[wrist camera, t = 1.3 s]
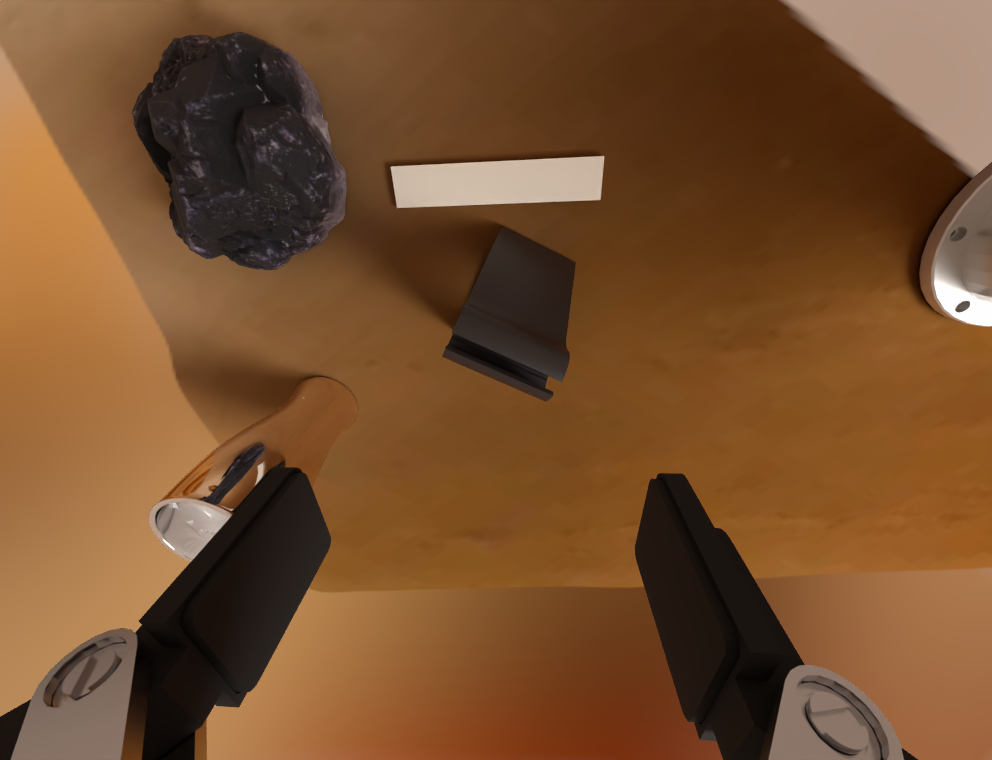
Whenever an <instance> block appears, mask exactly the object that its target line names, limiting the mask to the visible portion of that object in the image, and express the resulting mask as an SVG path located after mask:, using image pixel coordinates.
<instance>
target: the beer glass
mask: <svg viewBox="0 0 992 760" xmlns="http://www.w3.org/2000/svg"><path fill="white" fill-rule="evenodd" d="M357 416H358V405H357V402H356V399H355V397H354V396H353V394H352V393H351V392H350V391H349V390H348V389H347V388H346V387H345V386H344V385H342V384H341V383H339V382H337V381H335V380H333V379H330V378H326V377H312V378H309V379H306V380H305V381H303V382H302V383H301V384H300V385H299V386H298V387H297V388H296V390H295V391H294V393H293V394H292V396H291V397H290V399H289V400H288V401H287V402H286V403H285V404H284V405H283V406H282V407H280V408H279V409H278V410H276V411H275V412H273V413H271V414H270V415H268V416H266V417H264V418H263V419H261V420H259V421H257V422H256V423H254V424H252V425H250V426H249V427H247V428H245V429H243V430H242V431H240V432H239V433H237V434H236V435H234V436H233V437H231V438H229V439H228V440H226V441H225V442H224V443H222V444H221V445H220V446H218V447H217V448H216V449H215V450H213V451H212V452H211V453H210V454H208V455H207V456H206V457H205V458H204V459H203V460H202V461H200V462H199V463H198V464H197V465H196V466H195V467H194V468H193V469H192V470H191V471H190V472H189V473H187V475H186V476H184V477H183V478H182V479H181V480H180V481H179V482H178V483H177V484H176V485H175V486H174V487H173V488H172V489H171V490H170V491H169V492H168V493H167V495H165V496H164V497H163V498H162V499H161V500H160V501H159V502H158V503H157V504H155V505H154V506H153V507H152V509H151V510H150V513H149V524H150V526H151V529H152V531H153V533H154V534H155V536H156V537H157V538H158V539H159V541H160V542H162V544H163V545H164V546H165V547H167V548H168V549H169V550H170V551H172V552H173V553H175V554H176V555H178V556H179V557H181V558H183V559H185V560H187V561H189V562H191V561H192V560H193V559H194V558H195V557H196V556H197V554H198V553H199V552H200V551H201V550H202V549H203V548H204V546H205V545H206V544H207V543H208V542H209V541H210V540H211V539H212V537H213V536H214V535H215V534H216V533H217V532H218V531H219V530H220V528H221V527H222V526H223V525H224V524H225V523H226V522H227V520H228V519H229V518H230V517H231V516H232V515H233V514H234V513H235V511H236V510H237V509H238V508H239V507H240V506H241V505H242V503H243V502H244V501H245V500H246V499H247V498H248V497H249V496H250V494H251V493H252V492H253V491H254V490H255V489H256V488H257V486H258V485H259V484H260V483H261V482H262V481H263V480H264V479H265V477H266V476H267V475H268V474H269V473H270V472H271V471H272V470H273V469H274V468H277V467H296V468H300V469H301V470H302V472H303V473H305V474H306V475H307V476H308V479H309V482H310V484H311V487H313V485H314V483H315V481H316V479H317V477H318V475H319V472H320V470H321V468H322V466H323V464H324V461H325V459H326V457H327V455H328V452H329V450H330V448H331V447H332V445H333V443H334V442H335V441H336V439H337V438H338V437H339V436H340V435H341V434H343V433H344V432H345V431H346V430H347V429H349V428H350V427H351V426H352V425H353V424H354V422H355V421H356V419H357Z"/></svg>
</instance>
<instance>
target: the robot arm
mask: <svg viewBox="0 0 992 760" xmlns="http://www.w3.org/2000/svg"><path fill="white" fill-rule="evenodd" d="M919 275H920V285H921V290H922V292H923V294H924V297H925V299H926V301H927V302H928V303H929V304H930V305H931V306H932V308H933V309H934V310H935V311H937V312H939V313H940V314H942V315H944V316H945V317H947V318H950V319H953V320H956V321H959V322H962V323H965V324H970V325H976V326H982V327H989V326H992V162H991V163H990V164H989V165H988V166H987V167H985V169H983V170H982V171H981V172H980V173H978V174H977V175H976V176H975V177H974V178H973V179H972V180H971V181H970V182H969V183H968V184H967V185H966V186H965V187H964V188H963V189H962V190H961V191H960V192H959V193H958V195H957V196H956V197H955V198H954V199H953V200H952V202H951V203H950V204H949V206H948V207H947V208H946V210H945V211H944V212H943V214H942V215H941V216H940V218H939V220H938V221H937V223H936V225H935V227H934V229H933V230H932V232H931V234H930V236H929V238H928V240H927V243H926V246H925V249H924V251H923V254H922V258H921V265H920V272H919ZM330 544H331V537H330V534H329V531H328V528H327V526H326V523H325V521H324V518H323V515H322V513H321V510H320V508H319V505H318V502H317V500H316V497H315V495H314V492H313V489H312V487H311V484H310V482H309V479H308V476H307V475H306V474H305V473H303V472H302V470H301V469H300V468H296V467H277V468H274V469H273V470H272V471H271V472H270V473H269V474H268V475H267V476H266V477H265V479H264V480H263V481H262V482H261V483H260V484H259V485H258V486H257V488H256V489H255V490H254V491H253V492H252V493H251V494H250V496H249V497H248V498H247V499H246V500H245V501H244V502H243V503H242V505H241V506H240V507H239V508H238V509H237V510H236V511H235V513H234V514H233V515H232V516H231V517H230V518H229V519H228V520H227V522H226V523H225V524H224V525H223V526H222V527H221V528H220V530H219V531H218V532H217V533H216V534H215V535H214V536H213V537H212V539H211V540H210V541H209V542H208V543H207V544H206V545H205V546H204V548H203V549H202V550H201V551H200V552H199V553H198V554H197V556H196V557H195V558H194V559H193V560H192V561H191V562H190V564H189V565H188V566H187V567H186V568H185V569H184V570H183V571H182V573H181V574H180V575H179V576H178V577H177V578H176V579H175V580H174V582H173V583H172V584H171V585H170V586H169V587H168V588H167V589H166V591H165V592H164V593H163V594H162V595H161V596H160V597H159V599H158V600H157V601H156V602H155V603H154V604H153V605H152V606H151V608H150V609H149V610H148V611H147V612H146V613H145V614H144V616H143V617H142V618H141V619H140V620H139V622H140V623H141V624H142V626H141V627H140V628H139V629H138V630H137V631H136V633H134V632H133V631H132V630H131V629H125V628H120V629H114V630H109V631H107V632H104V633H102V634H99V635H97V636H95V637H93V638H91V639H90V640H88V641H86V642H84V643H82V644H81V645H79V646H78V647H77V648H75V649H74V650H73V651H71V652H70V653H69V654H67V655H66V656H65V657H64V658H62V659H61V660H60V661H59V662H58V663H57V664H56V665H55V666H54V667H53V668H52V669H51V670H50V671H49V672H48V674H47V675H46V676H45V677H44V679H43V680H42V681H41V682H40V684H39V685H38V687H37V689H36V691H35V693H34V695H33V697H32V699H31V700H29V701H27V702H26V703H24V704H22V705H20V706H18V707H17V708H15V709H13V710H11V711H10V712H8V713H6V714H4V715H3V716H1V717H0V760H207V744H206V743H207V741H206V740H207V739H206V718H207V717H208V715H209V713H210V712H211V710H212V708H213V707H214V705H216V706H226V707H239V706H240V705H241V703H242V701H243V699H244V697H245V695H246V694H247V692H250V691H251V690H252V689H253V688H254V687H255V686H256V685H257V683H258V681H259V679H260V677H261V676H262V674H263V672H264V670H265V668H266V666H267V665H268V663H269V661H270V659H271V657H272V655H273V653H274V651H275V650H276V648H277V646H278V644H279V642H280V640H281V638H282V636H283V635H284V633H285V631H286V629H287V627H288V625H289V623H290V621H291V620H292V618H293V616H294V614H295V612H296V610H297V608H298V606H299V604H300V603H301V601H302V599H303V597H304V595H305V593H306V591H307V590H308V588H309V586H310V584H311V582H312V580H313V578H314V576H315V575H316V573H317V571H318V569H319V567H320V565H321V563H322V561H323V560H324V558H325V556H326V554H327V552H328V550H329V548H330ZM635 555H636V560H637V564H638V567H639V570H640V574H641V577H642V580H643V584H644V587H645V590H646V593H647V597H648V600H649V603H650V606H651V609H652V613H653V616H654V619H655V623H656V626H657V629H658V632H659V636H660V639H661V642H662V646H663V649H664V652H665V655H666V659H667V662H668V665H669V669H670V672H671V675H672V678H673V681H674V685H675V688H676V691H677V695H678V698H679V701H680V705H681V708H682V711H683V713H684V715H685V718H686V719H687V721H689V722H694V724H695V726H696V730H697V733H698V736H699V739H700V740H712V741H717V743H718V746H719V749H720V751H721V754H722V757H723V760H918V759H916V758H915V757H914V756H912V755H911V754H909V753H908V752H907V751H905V750H904V749H902V748H901V744H900V742H899V739H898V737H897V735H896V734H895V731H894V729H893V727H892V726H891V724H890V723H889V721H888V720H887V719H886V717H885V716H884V715H883V713H882V712H881V711H880V709H879V708H878V707H877V706H876V705H875V704H874V703H873V702H872V701H871V700H870V699H869V698H868V697H867V696H866V695H865V694H864V693H863V692H862V691H861V690H860V689H859V688H857V687H856V686H854V685H853V684H852V683H850V682H849V681H847V680H846V679H845V678H843V677H841V676H839V675H838V674H835V673H834V672H831V671H830V670H827V669H825V668H821V667H817V666H814V665H804V663H803V661H802V660H801V658H800V656H799V654H798V653H797V651H796V650H795V648H794V646H793V644H792V643H791V641H790V639H789V638H788V636H787V634H786V633H785V631H784V629H783V627H782V626H781V624H780V622H779V621H778V619H777V617H776V616H775V614H774V612H773V611H772V609H771V607H770V605H769V604H768V602H767V600H766V599H765V597H764V595H763V594H762V592H761V590H760V588H759V587H758V585H757V583H756V582H755V580H754V578H753V577H752V575H751V573H750V572H749V570H748V568H747V566H746V565H745V563H744V561H743V560H742V558H741V556H740V555H739V553H738V551H737V550H736V548H735V546H734V544H733V543H732V541H731V539H730V538H729V537H728V535H727V534H726V532H724V531H723V530H722V529H719V528H714V526H713V524H712V523H711V521H710V519H709V517H708V515H707V514H706V512H705V510H704V508H703V507H702V505H701V503H700V501H699V499H698V498H697V496H696V494H695V492H694V491H693V489H692V487H691V485H690V484H689V482H688V480H687V478H686V477H685V476H684V475H683V474H666V473H660V474H658V475H657V477H656V479H651V480H650V482H649V486H648V491H647V495H646V500H645V504H644V509H643V513H642V518H641V522H640V527H639V531H638V536H637V540H636V545H635Z"/></svg>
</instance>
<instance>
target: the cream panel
mask: <svg viewBox="0 0 992 760" xmlns="http://www.w3.org/2000/svg"><path fill="white" fill-rule="evenodd" d="M603 166H604V156H593V157H573V158H553V159H533V160H513V161H493V162H473V163H453V164H432V165H412V166H392V167H391V172H392V179H393V185H394V192H395V198H396V205H397V208H409V207H434V206H459V205H485V204H510V203H535V202H561V201H586V200H600V199H601V188H602V177H603Z"/></svg>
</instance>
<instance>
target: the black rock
mask: <svg viewBox="0 0 992 760" xmlns="http://www.w3.org/2000/svg"><path fill="white" fill-rule="evenodd" d="M132 114H133V117H134V125H135V128H136V131H137V133H138V136H139V137H140V139H141V141H142V142H143V144H144V146H145V147H146V150H147V151H148V153H149V155H150V156H151V158H152V161H153V163H154V164H155V166H156V167H157V169H158V170H159V172H160V173H161V174H162V175H163V176H164V178H165V181H166V182H167V183H168V184H169V185H168V186H169V188H170V192H169V194H170V197H171V199H172V201H171V204H170V210H169V214H170V219H172V222H173V227H174V229H175V232H176V234H177V235H178V236H179V237H180V238H182V239H183V241H184V243H185V244H186V245H188V247H189V249H190V250H191V251H193V252H195V253H197V254H199V255H200V256H202V257H204V258H206V259H212V258H215V257H218V256H220V255H225V256H227V257H229V259H230V260H231V261H234V262H236V263H237V264H238V265H241V266H245V267H249V268H254V269H264V270H274V269H278V268H280V267H282V266H284V265H285V264H286V263H287V262H288V261H289V260H290V258H291V256H292V255H294V254H297V253H302V252H306V251H308V250H310V249H312V248H314V247H315V246H316V245H319V244H321V243H323V242H324V241H325V240H326V238H327V236H328V232H329V230H330V229H332V228H333V227H334V226H336V225H337V224H339V223H340V222H341V221H342V220H343V219H344V216H345V201H346V193H347V184H346V173H345V169H344V168H343V166H342V165H341V164H340V163H339V162H338V160H337V158H336V156H335V154H334V151H333V149H332V147H331V139H330V135H329V132H328V127H327V125H328V122H327V121H326V120H325V119H323V113H322V106H321V101H320V98H319V95H318V93H317V91H316V88H315V86H314V84H313V83H312V81H311V80H310V78H309V77H308V75H307V73H306V72H305V70H304V69H303V67H302V65H300V64H299V63H298V61H297V60H296V58H295V56H294V55H292V54H290V53H288V52H286V51H283V50H281V49H279V48H277V47H275V46H273V45H270V44H268V43H266V42H265V41H263V40H261V39H258V38H256V37H253V36H251V35H249V34H245V33H242V32H237V33H232V34H229V35H225V36H221V37H218V38H213V37H211V36H207V35H197V36H190V35H188V36H185V37H183V38H180V39H179V38H175V39H173V41H172V42H171V44H170V45H169V47H168V48H167V49H166V50H165V51H164V52H163V54H162V60H161V61H160V65H159V69H158V71H157V72H156V73H155V74H154V79H153V83H148V85H147V87H146V88H145V89H144V90H143V91H142V92H141V93H140V94H139V96H138V99H137V101H136V104H135V106H134V109H133V111H132Z"/></svg>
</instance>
